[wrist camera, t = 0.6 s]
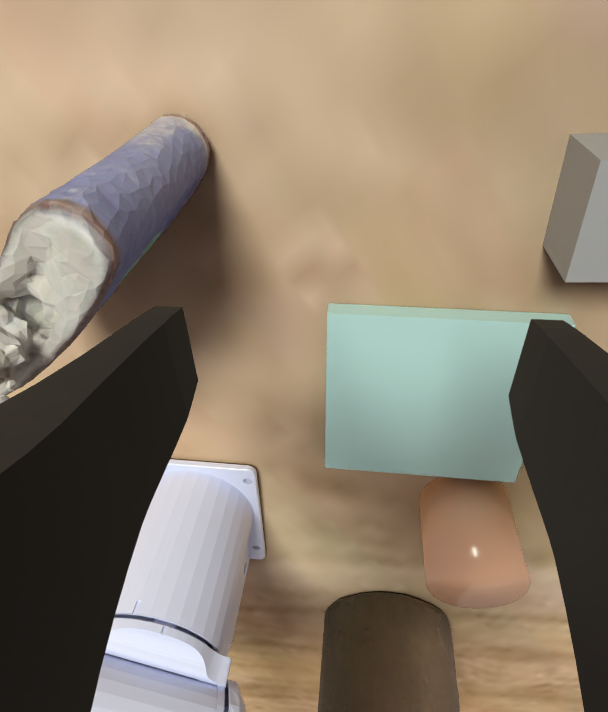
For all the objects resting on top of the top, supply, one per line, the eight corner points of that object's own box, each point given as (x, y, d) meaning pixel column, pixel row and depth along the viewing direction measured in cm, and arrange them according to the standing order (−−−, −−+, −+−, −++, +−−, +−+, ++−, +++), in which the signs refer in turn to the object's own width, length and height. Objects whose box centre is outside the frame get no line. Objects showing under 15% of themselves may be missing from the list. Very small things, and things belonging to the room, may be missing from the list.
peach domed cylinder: (497, 528, 30) (516, 612, 26) (414, 521, 31) (419, 602, 27) (518, 476, 27) (542, 562, 23) (424, 469, 28) (433, 551, 24)
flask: (174, 94, 17) (-15, 218, 9) (236, 161, 18) (120, 326, 10) (44, 248, 22) (-165, 428, 13) (100, 294, 23) (-60, 486, 14)
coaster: (511, 470, 27) (514, 482, 26) (326, 456, 28) (324, 467, 27) (569, 314, 21) (575, 325, 20) (328, 303, 22) (327, 313, 21)
